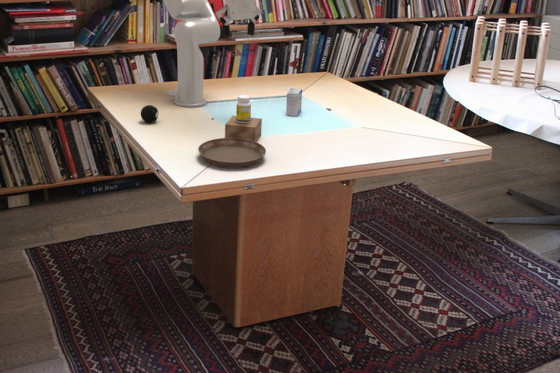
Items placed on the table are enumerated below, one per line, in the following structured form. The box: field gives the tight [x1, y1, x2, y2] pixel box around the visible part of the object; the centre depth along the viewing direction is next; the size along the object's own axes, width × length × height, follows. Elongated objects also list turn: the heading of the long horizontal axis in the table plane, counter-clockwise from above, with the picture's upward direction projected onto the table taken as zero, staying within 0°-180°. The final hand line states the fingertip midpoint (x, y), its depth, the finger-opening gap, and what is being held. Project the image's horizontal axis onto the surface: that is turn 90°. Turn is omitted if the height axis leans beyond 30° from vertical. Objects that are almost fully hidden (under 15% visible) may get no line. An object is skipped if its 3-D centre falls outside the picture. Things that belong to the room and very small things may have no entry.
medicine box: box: [285, 87, 303, 117], centre depth 264 cm, size 8×4×9 cm, turn 168°
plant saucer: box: [197, 137, 267, 169], centre depth 217 cm, size 21×21×3 cm
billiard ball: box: [140, 104, 159, 124], centre depth 246 cm, size 6×6×6 cm
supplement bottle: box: [235, 94, 252, 123], centre depth 232 cm, size 5×5×8 cm
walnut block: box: [224, 115, 263, 143], centre depth 234 cm, size 10×10×6 cm
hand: (238, 35), depth 242 cm, fingers open, 9 cm apart
